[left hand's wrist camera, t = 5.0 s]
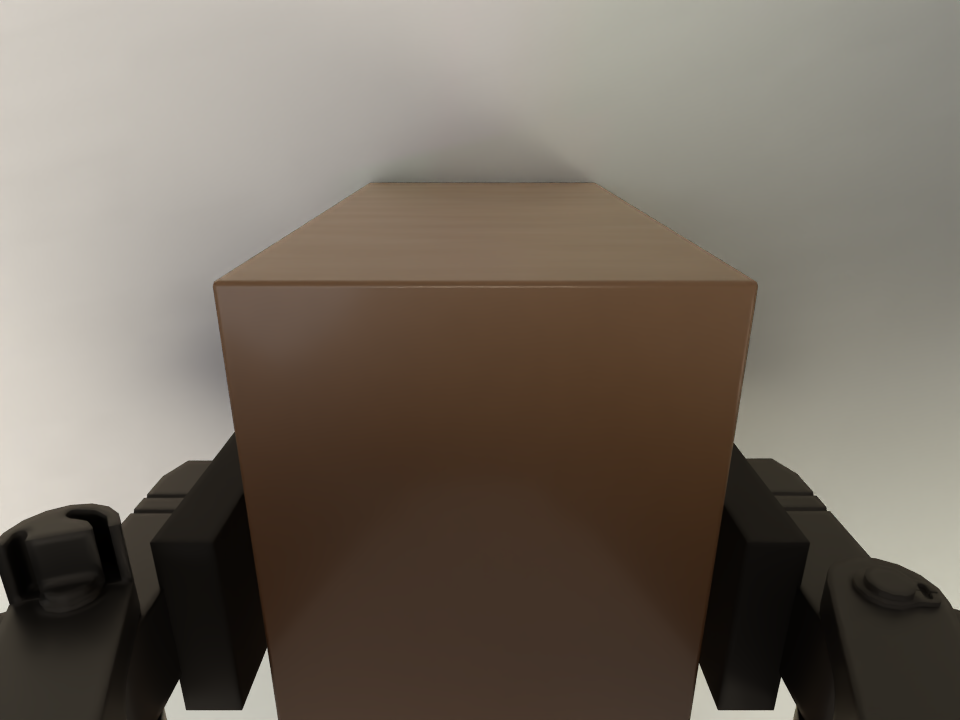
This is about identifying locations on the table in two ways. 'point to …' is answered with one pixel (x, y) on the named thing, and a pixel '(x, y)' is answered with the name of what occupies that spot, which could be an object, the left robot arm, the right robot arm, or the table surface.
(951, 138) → the table surface
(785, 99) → the table surface
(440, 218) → the bar
